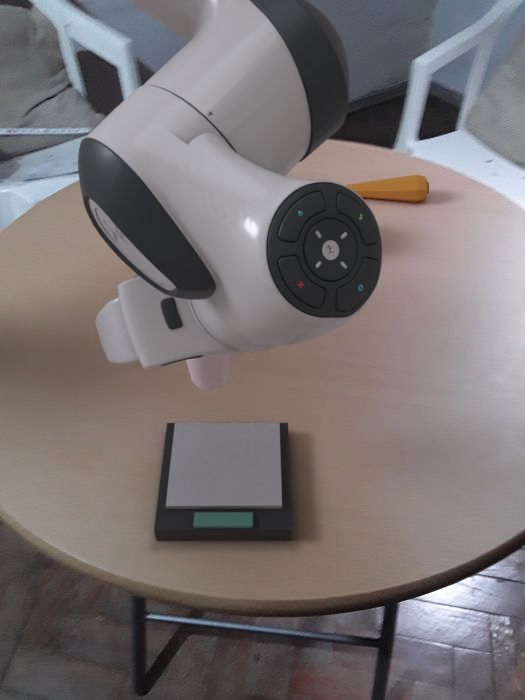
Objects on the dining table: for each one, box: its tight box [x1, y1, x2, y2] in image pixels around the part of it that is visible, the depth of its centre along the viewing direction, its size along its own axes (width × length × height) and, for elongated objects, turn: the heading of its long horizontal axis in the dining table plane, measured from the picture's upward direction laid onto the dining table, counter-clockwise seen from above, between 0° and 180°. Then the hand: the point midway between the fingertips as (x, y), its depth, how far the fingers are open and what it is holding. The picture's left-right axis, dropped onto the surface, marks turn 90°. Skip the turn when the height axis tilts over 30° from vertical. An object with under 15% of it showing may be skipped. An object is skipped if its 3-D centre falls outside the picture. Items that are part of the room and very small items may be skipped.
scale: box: [153, 422, 293, 542], centre depth 74 cm, size 14×14×3 cm
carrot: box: [344, 174, 430, 203], centre depth 116 cm, size 20×4×4 cm, turn 84°
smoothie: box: [185, 355, 232, 390], centre depth 63 cm, size 6×6×14 cm
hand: (202, 313), depth 63 cm, fingers closed on smoothie, 6 cm apart
